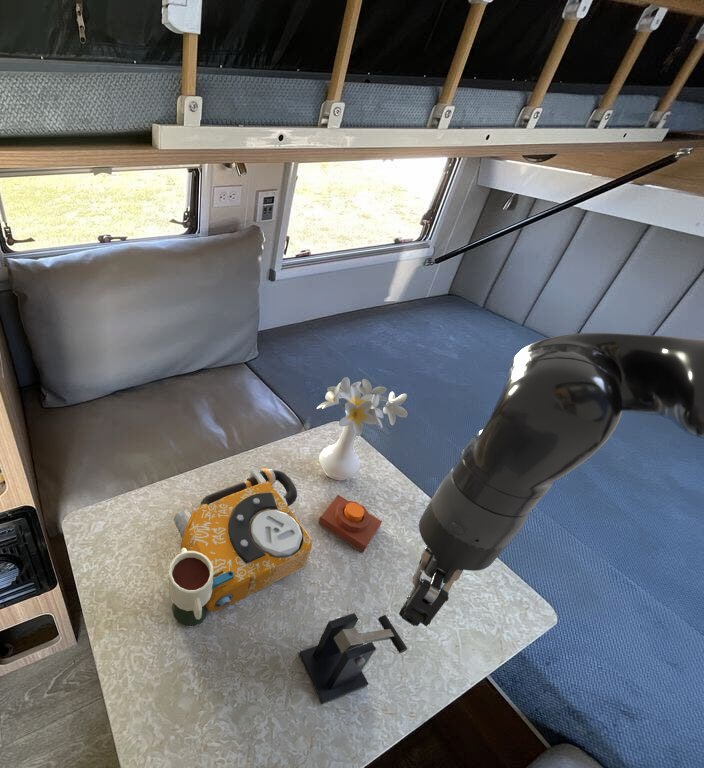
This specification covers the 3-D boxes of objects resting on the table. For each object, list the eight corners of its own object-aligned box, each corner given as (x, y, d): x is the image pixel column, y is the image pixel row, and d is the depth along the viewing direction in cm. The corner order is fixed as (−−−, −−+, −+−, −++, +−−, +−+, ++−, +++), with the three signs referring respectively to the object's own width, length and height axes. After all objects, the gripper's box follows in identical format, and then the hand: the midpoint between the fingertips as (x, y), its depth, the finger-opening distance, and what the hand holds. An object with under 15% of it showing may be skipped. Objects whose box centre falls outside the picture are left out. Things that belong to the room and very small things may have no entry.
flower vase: (387, 481, 95) (424, 398, 81) (318, 498, 91) (345, 414, 76) (354, 444, 106) (382, 364, 91) (291, 457, 101) (310, 376, 86)
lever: (379, 620, 65) (389, 612, 64) (401, 654, 61) (411, 646, 60) (327, 627, 59) (336, 618, 58) (347, 665, 56) (357, 656, 55)
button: (364, 514, 84) (367, 509, 83) (357, 525, 81) (359, 520, 80) (348, 504, 86) (350, 499, 85) (340, 515, 83) (342, 509, 82)
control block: (379, 527, 85) (384, 515, 83) (363, 552, 81) (368, 541, 78) (335, 500, 91) (339, 489, 88) (318, 522, 86) (322, 511, 84)
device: (156, 496, 81) (280, 452, 91) (157, 521, 86) (275, 476, 96) (206, 602, 64) (350, 533, 75) (204, 625, 69) (340, 558, 80)
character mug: (218, 637, 68) (223, 599, 60) (176, 648, 66) (176, 611, 59) (201, 576, 76) (203, 536, 68) (164, 584, 75) (162, 544, 67)
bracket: (340, 639, 68) (360, 602, 60) (366, 686, 62) (392, 652, 55) (298, 654, 66) (313, 618, 58) (321, 704, 60) (341, 672, 53)
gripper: (502, 589, 36) (434, 661, 46) (522, 492, 45) (462, 569, 55) (414, 540, 40) (369, 616, 49) (449, 459, 49) (405, 537, 58)
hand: (418, 591), depth 52 cm, fingers open, 8 cm apart
